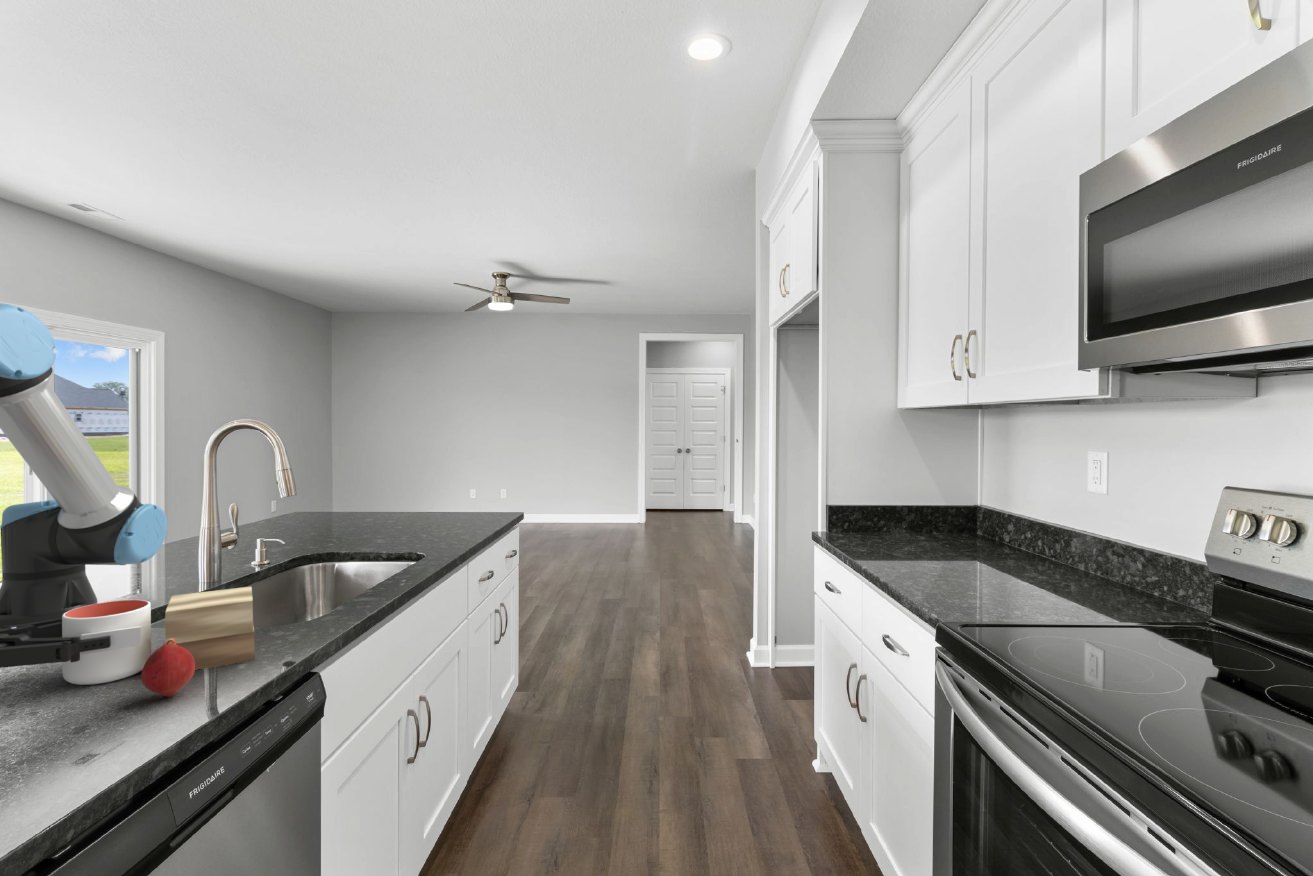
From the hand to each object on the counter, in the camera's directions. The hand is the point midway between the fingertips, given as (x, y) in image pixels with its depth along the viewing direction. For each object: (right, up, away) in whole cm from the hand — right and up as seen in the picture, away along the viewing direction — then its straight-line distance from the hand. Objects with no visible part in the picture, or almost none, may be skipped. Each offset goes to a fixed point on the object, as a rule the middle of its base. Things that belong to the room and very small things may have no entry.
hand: (144, 626), depth 96 cm
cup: (-3, -7, -2) cm, 8 cm away
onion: (+12, -7, -10) cm, 17 cm away
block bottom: (+7, -7, +5) cm, 11 cm away
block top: (+7, -2, +5) cm, 9 cm away
